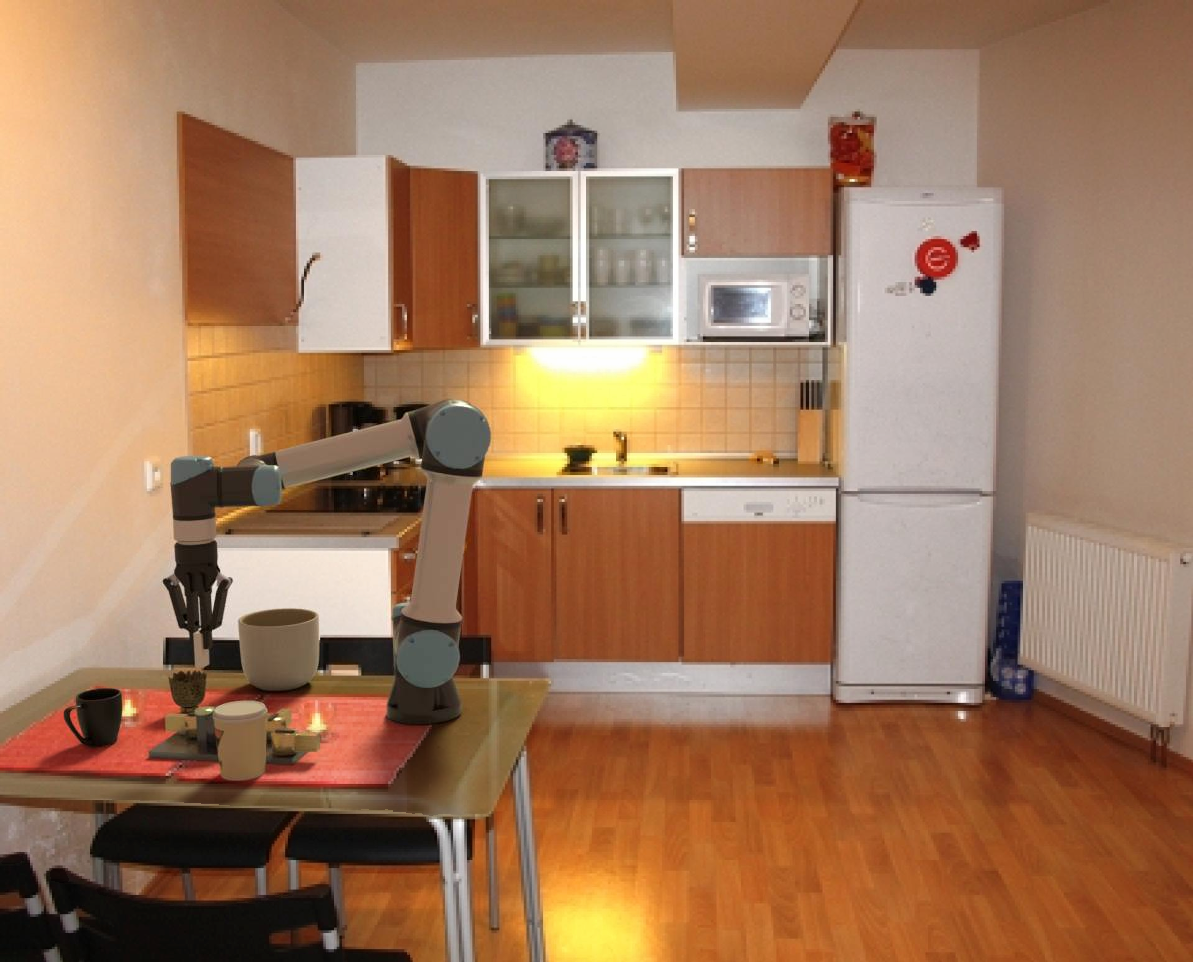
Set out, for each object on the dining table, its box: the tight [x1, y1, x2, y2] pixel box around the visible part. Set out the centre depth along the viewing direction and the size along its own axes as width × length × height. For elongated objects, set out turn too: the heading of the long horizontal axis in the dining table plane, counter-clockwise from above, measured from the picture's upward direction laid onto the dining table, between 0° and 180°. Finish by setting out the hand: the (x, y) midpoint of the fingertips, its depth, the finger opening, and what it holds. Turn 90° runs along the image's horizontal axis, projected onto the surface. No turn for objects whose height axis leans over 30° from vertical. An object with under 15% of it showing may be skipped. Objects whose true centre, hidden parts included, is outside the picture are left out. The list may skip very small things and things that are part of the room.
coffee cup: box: [213, 700, 268, 782], centre depth 233 cm, size 9×9×12 cm
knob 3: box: [271, 727, 321, 755], centre depth 240 cm, size 9×5×4 cm, turn 80°
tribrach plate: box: [148, 705, 322, 766], centre depth 246 cm, size 28×14×8 cm, turn 80°
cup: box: [168, 669, 208, 714], centre depth 268 cm, size 8×7×8 cm
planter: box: [237, 607, 320, 692], centre depth 286 cm, size 17×17×15 cm
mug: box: [63, 687, 123, 748], centre depth 249 cm, size 8×12×10 cm
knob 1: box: [164, 712, 197, 738], centre depth 251 cm, size 9×5×4 cm, turn 80°
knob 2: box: [266, 707, 292, 740], centre depth 251 cm, size 9×5×4 cm, turn 170°
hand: (202, 665), depth 243 cm, fingers closed
